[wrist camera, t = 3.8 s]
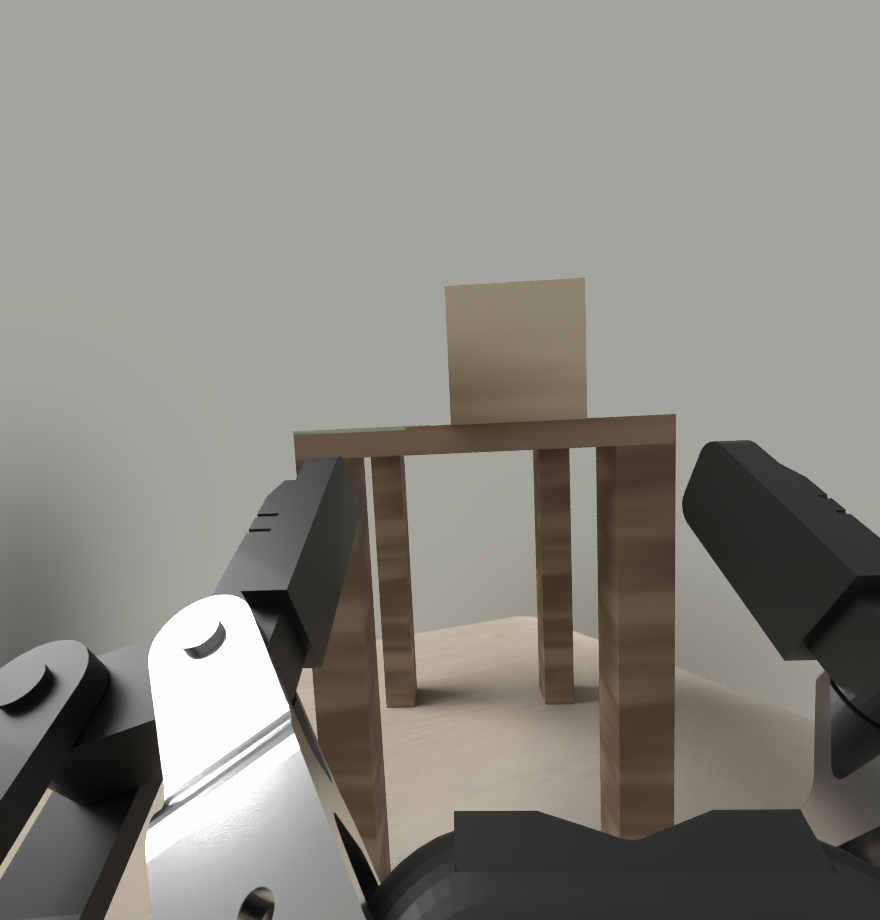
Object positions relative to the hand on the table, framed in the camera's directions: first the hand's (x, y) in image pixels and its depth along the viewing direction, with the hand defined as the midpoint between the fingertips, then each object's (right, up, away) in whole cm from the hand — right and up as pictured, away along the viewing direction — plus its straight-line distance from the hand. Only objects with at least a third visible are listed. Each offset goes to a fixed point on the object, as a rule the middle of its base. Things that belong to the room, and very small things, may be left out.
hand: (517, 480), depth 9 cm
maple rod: (0, +3, +16) cm, 16 cm away
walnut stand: (+2, -27, +25) cm, 37 cm away
